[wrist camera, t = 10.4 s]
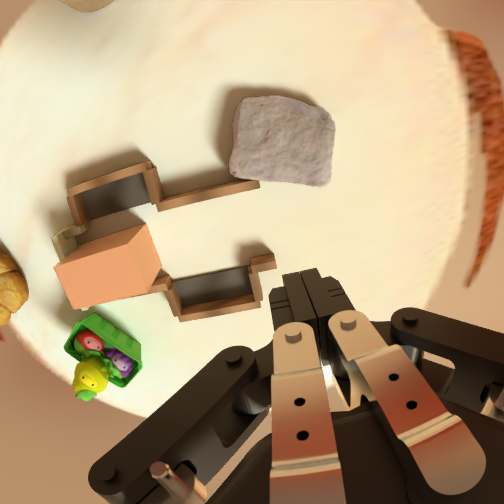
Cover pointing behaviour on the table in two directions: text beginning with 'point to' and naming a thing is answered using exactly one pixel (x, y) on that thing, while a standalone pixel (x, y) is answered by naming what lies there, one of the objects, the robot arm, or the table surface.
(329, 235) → the table surface
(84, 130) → the table surface
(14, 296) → the bread roll
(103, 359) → the fruit basket
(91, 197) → the box
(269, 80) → the table surface
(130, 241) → the terracotta brick
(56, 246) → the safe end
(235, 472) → the robot arm
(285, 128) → the stone block
